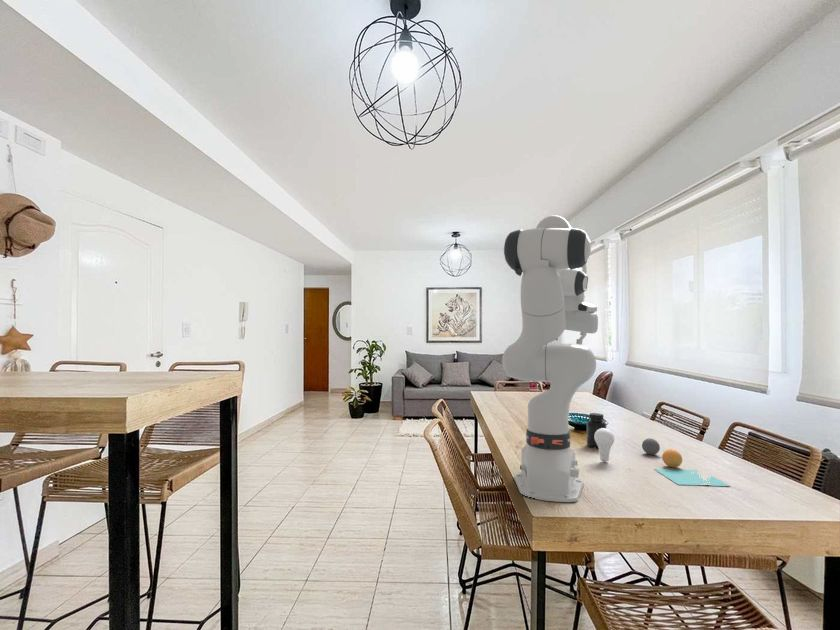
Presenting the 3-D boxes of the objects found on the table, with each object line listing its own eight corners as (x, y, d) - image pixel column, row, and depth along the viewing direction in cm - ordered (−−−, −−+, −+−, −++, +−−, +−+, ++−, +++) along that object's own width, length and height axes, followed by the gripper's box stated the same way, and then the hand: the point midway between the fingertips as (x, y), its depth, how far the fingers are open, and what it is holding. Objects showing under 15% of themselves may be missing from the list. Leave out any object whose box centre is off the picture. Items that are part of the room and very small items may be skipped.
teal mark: (730, 486, 117) (730, 486, 117) (678, 485, 118) (678, 484, 118) (701, 470, 131) (701, 470, 131) (654, 469, 132) (654, 468, 132)
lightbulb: (609, 466, 134) (609, 431, 135) (591, 461, 139) (590, 428, 140) (618, 462, 138) (617, 428, 139) (599, 458, 143) (599, 425, 144)
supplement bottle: (585, 443, 163) (584, 412, 163) (603, 444, 162) (603, 412, 162) (589, 448, 156) (589, 415, 157) (609, 449, 155) (608, 416, 156)
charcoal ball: (661, 457, 145) (661, 441, 145) (644, 455, 146) (643, 439, 147) (657, 453, 150) (657, 437, 151) (640, 451, 152) (640, 436, 152)
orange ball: (684, 470, 131) (684, 452, 131) (665, 468, 132) (664, 451, 133) (679, 465, 136) (679, 448, 136) (660, 463, 138) (659, 446, 138)
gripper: (540, 302, 160) (537, 338, 161) (594, 307, 145) (589, 347, 147) (549, 302, 164) (545, 337, 165) (601, 307, 150) (597, 346, 151)
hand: (566, 342), depth 156 cm, fingers open, 8 cm apart
